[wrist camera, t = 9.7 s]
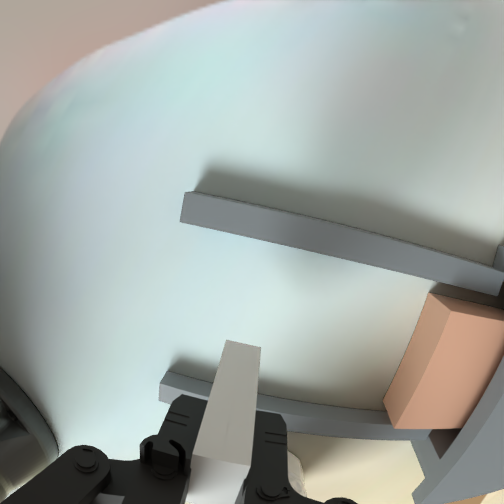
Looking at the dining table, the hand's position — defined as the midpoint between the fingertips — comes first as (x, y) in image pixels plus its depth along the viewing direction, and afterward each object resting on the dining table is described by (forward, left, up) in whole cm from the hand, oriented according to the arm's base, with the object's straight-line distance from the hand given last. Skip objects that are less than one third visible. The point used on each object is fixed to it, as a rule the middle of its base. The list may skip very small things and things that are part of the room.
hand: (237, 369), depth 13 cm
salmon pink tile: (+17, 0, -5) cm, 18 cm away
